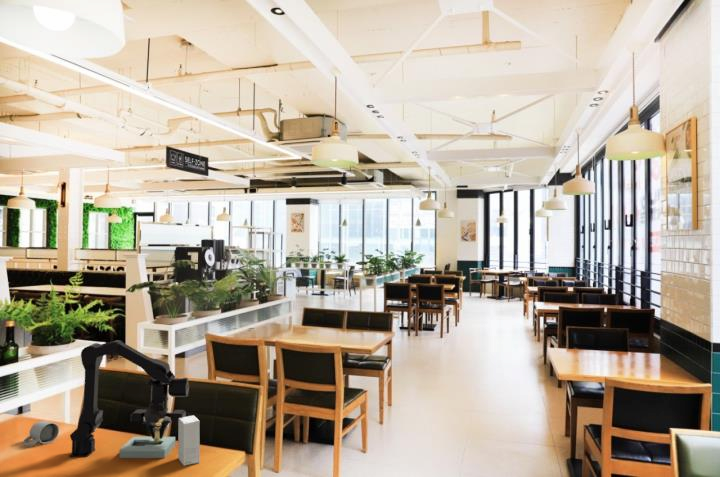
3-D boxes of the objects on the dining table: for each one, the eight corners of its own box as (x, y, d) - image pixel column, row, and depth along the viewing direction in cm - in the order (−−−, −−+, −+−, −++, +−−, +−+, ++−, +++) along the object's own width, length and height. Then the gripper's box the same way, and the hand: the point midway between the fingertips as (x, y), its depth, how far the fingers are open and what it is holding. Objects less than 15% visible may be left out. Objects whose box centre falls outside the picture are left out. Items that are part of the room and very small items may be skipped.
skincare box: (199, 463, 175) (201, 420, 175) (182, 466, 172) (183, 423, 172) (193, 454, 182) (194, 414, 182) (176, 458, 179) (178, 416, 179)
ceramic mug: (47, 436, 196) (47, 416, 196) (59, 440, 192) (59, 420, 193) (18, 445, 187) (18, 425, 187) (30, 449, 183) (30, 429, 183)
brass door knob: (148, 453, 181) (149, 427, 182) (153, 448, 186) (153, 423, 187) (161, 453, 182) (162, 427, 182) (165, 448, 186) (166, 423, 187)
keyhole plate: (119, 457, 177) (119, 449, 178) (133, 445, 189) (133, 436, 189) (164, 458, 178) (164, 449, 178) (175, 445, 190) (175, 436, 190)
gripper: (124, 402, 176) (122, 446, 176) (177, 403, 177) (176, 447, 177) (137, 393, 187) (135, 435, 187) (186, 394, 188) (185, 435, 188)
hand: (157, 438), depth 184 cm, fingers closed on brass door knob, 2 cm apart
